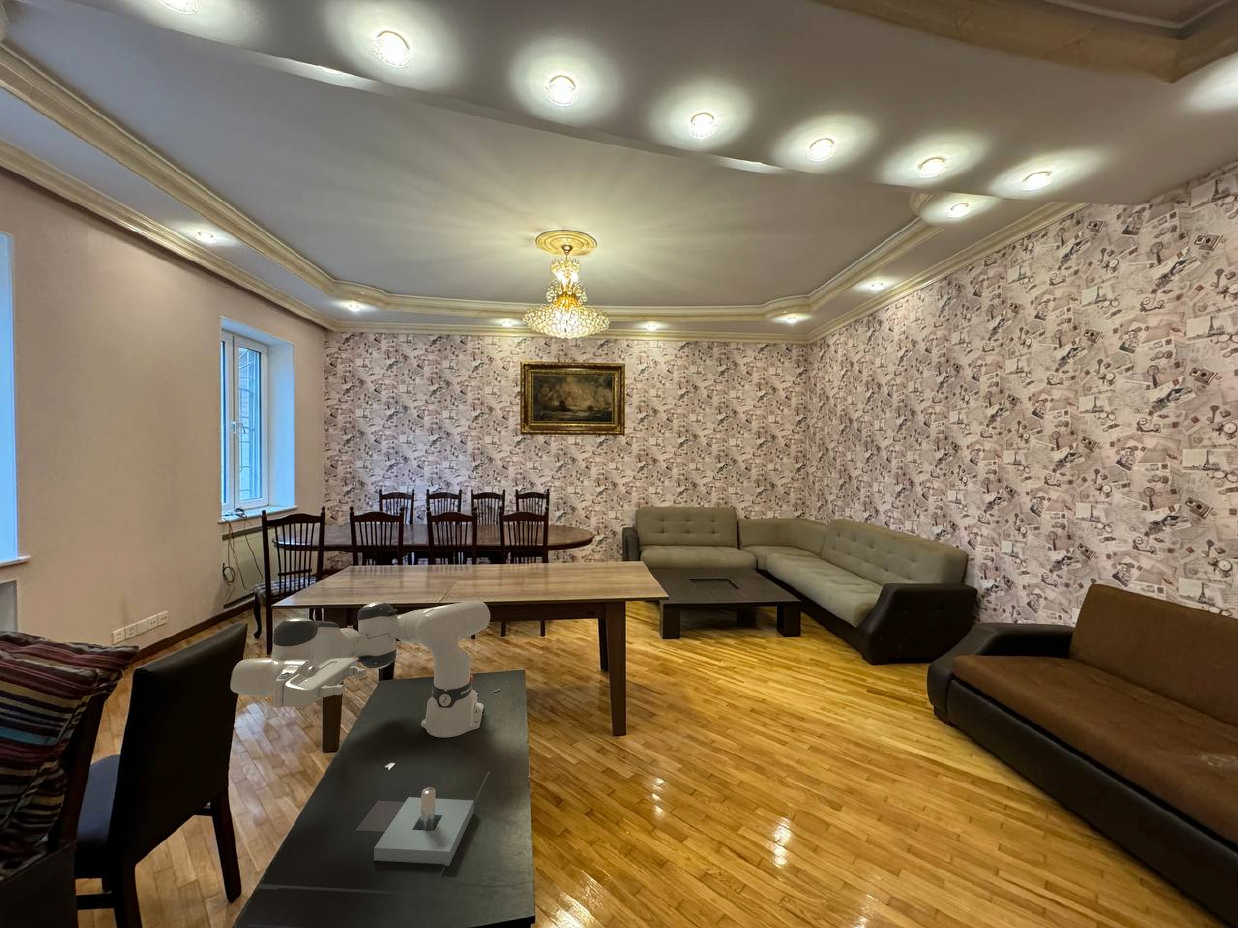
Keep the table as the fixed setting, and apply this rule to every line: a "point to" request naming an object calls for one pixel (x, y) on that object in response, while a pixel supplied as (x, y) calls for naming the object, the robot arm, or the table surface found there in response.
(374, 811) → the rubber mat
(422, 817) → the steel pin
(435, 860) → the grey square hole board
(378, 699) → the table surface
